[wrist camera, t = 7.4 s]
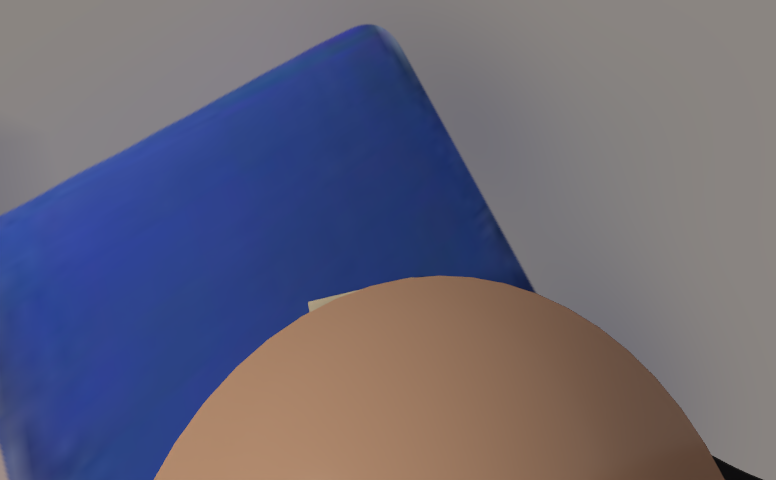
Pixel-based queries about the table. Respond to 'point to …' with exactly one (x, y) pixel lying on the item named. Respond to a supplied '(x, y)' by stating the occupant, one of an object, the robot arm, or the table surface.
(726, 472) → the robot arm
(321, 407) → the tan rounded cylinder
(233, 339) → the table surface
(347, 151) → the table surface
